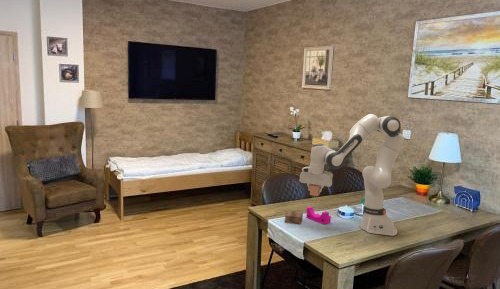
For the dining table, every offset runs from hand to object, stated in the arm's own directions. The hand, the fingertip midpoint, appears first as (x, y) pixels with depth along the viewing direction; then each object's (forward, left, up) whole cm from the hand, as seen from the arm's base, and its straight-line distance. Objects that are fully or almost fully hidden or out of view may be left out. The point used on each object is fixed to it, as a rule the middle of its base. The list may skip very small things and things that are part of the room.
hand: (314, 191), depth 239 cm
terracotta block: (0, 0, -2) cm, 2 cm away
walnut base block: (+13, 0, -22) cm, 25 cm away
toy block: (-1, -10, -22) cm, 24 cm away
